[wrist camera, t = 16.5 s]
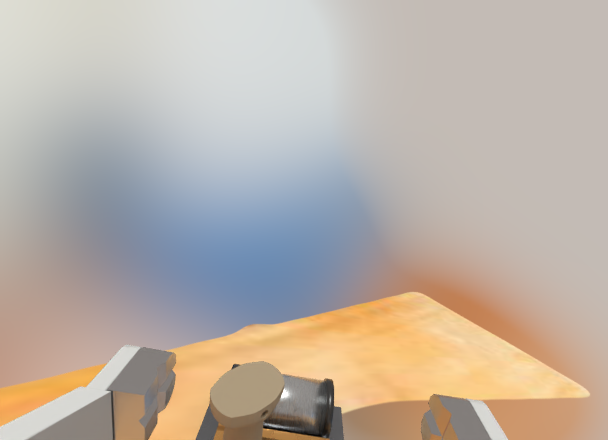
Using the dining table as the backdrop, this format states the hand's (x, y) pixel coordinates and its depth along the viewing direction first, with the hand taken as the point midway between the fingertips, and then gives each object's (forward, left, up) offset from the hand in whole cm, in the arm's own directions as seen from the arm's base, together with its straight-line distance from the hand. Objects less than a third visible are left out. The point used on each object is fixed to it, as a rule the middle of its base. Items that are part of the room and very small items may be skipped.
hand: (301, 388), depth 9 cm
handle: (+3, -12, -29) cm, 32 cm away
